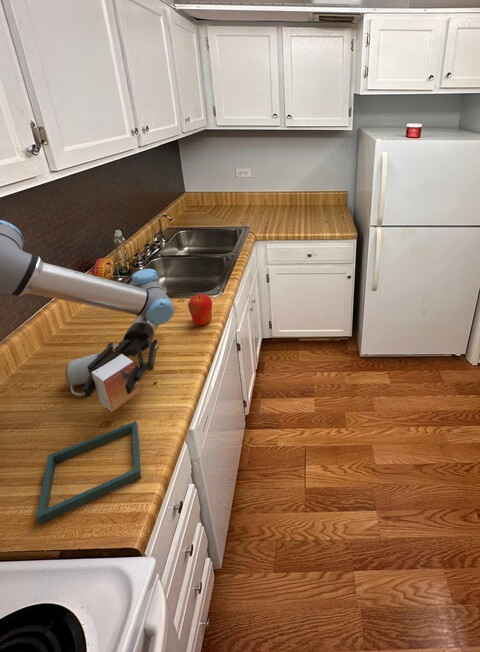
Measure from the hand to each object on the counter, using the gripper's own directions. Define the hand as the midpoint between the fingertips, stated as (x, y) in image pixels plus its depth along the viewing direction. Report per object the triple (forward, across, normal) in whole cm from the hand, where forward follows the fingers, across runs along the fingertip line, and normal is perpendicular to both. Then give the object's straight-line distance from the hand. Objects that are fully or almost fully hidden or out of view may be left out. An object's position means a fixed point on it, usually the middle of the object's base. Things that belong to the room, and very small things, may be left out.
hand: (107, 391), depth 82 cm
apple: (-41, +13, +11) cm, 45 cm away
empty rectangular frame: (+12, 0, +11) cm, 16 cm away
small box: (-5, 0, +7) cm, 9 cm away
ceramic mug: (-15, -14, +11) cm, 23 cm away
